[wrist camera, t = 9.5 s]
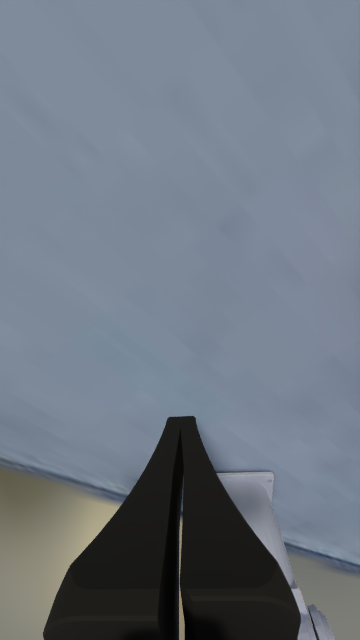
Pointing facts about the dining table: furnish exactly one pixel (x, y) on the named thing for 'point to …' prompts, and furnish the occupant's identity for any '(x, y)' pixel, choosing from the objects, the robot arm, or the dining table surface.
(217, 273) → the dining table surface
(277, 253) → the dining table surface
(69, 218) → the dining table surface
